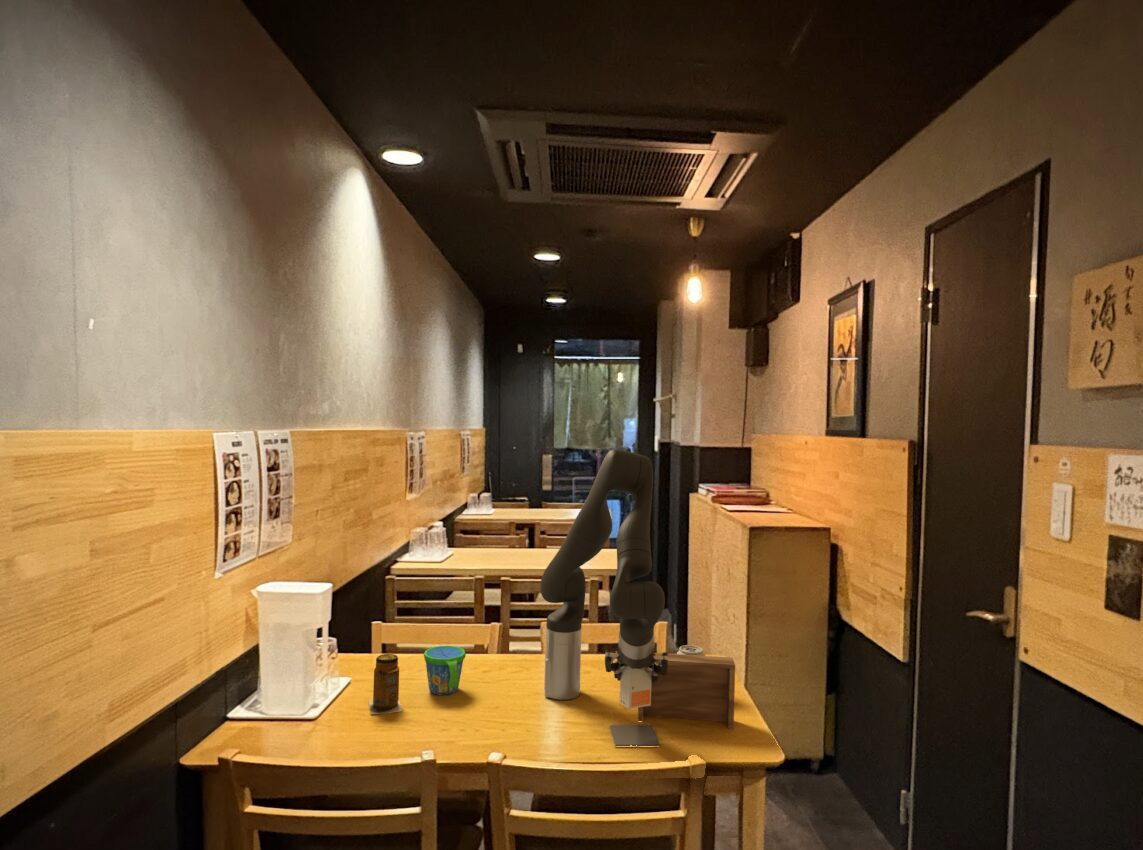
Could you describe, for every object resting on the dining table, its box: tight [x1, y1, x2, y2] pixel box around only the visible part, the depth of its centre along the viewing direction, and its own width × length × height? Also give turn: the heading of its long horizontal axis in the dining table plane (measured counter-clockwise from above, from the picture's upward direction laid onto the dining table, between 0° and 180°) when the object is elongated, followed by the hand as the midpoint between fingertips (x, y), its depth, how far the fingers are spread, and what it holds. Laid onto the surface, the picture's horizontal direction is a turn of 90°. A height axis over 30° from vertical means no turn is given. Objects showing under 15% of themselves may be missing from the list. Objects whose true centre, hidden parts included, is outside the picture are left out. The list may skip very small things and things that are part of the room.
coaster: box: [609, 723, 661, 747], centre depth 152 cm, size 10×10×1 cm
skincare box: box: [619, 669, 652, 710], centre depth 152 cm, size 6×4×12 cm
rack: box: [637, 652, 736, 730], centre depth 162 cm, size 5×22×15 cm, turn 84°
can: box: [676, 644, 706, 656], centre depth 179 cm, size 8×8×12 cm
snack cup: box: [423, 645, 466, 696], centre depth 176 cm, size 16×11×10 cm
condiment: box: [368, 653, 403, 715], centre depth 165 cm, size 7×8×12 cm
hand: (635, 677), depth 154 cm, fingers closed on skincare box, 7 cm apart
